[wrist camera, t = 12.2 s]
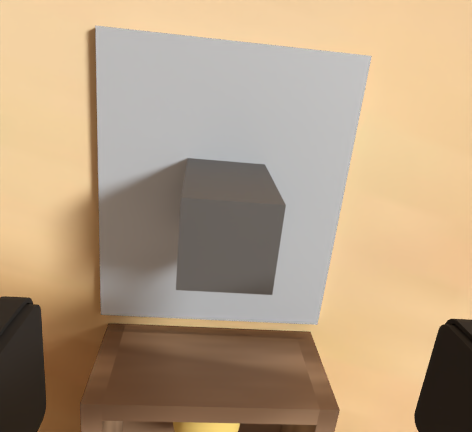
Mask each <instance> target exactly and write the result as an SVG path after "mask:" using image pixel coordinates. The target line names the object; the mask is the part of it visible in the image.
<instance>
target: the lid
mask: <svg viewBox="0 0 472 432" xmlns="http://www.w3.org/2000/svg"><path fill="white" fill-rule="evenodd" d="M95 28H96V82H97V136H98V190H99V244H100V297H101V315H117V316H139V317H161V318H183V319H206V320H228V321H250V322H272V323H294V324H316V325H317V324H318V319H319V314H320V309H321V304H322V299H323V294H324V289H325V284H326V279H327V274H328V269H329V264H330V259H331V254H332V249H333V245H334V240H335V235H336V230H337V225H338V220H339V215H340V210H341V205H342V200H343V195H344V190H345V185H346V180H347V175H348V170H349V165H350V160H351V155H352V150H353V145H354V140H355V135H356V130H357V125H358V120H359V116H360V111H361V106H362V101H363V96H364V91H365V86H366V81H367V76H368V71H369V66H370V61H371V56H366V55H357V54H348V53H339V52H330V51H321V50H312V49H303V48H294V47H285V46H276V45H267V44H257V43H248V42H239V41H230V40H221V39H212V38H203V37H194V36H185V35H176V34H167V33H158V32H149V31H139V30H130V29H121V28H112V27H103V26H95Z"/></svg>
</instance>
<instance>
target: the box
mask: <svg viewBox="0 0 472 432" xmlns="http://www.w3.org/2000/svg"><path fill="white" fill-rule="evenodd" d="M339 411H340V410H339V407H338V405H337V402H336V399H335V397H334V394H333V391H332V389H331V386H330V383H329V381H328V378H327V375H326V373H325V370H324V367H323V365H322V362H321V359H320V356H319V354H318V351H317V348H316V346H315V343H314V340H313V338H312V335H311V332H297V331H273V330H250V329H226V328H202V327H179V326H155V325H131V324H108V327H107V330H106V333H105V335H104V338H103V341H102V344H101V347H100V349H99V352H98V355H97V358H96V361H95V363H94V366H93V369H92V372H91V374H90V377H89V380H88V383H87V386H86V388H85V391H84V394H83V397H82V400H81V402H80V418H81V432H175V431H174V427H173V422H193V423H240V426H239V430H238V432H334V431H335V427H336V423H337V419H338V415H339Z"/></svg>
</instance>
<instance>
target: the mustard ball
mask: <svg viewBox="0 0 472 432" xmlns="http://www.w3.org/2000/svg"><path fill="white" fill-rule="evenodd" d="M239 426H240V423H193V422H173V427H174V431H175V432H238V430H239Z"/></svg>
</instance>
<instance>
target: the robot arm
mask: <svg viewBox="0 0 472 432" xmlns="http://www.w3.org/2000/svg"><path fill="white" fill-rule="evenodd" d="M45 409H46V391H45V374H44V356H43V339H42V321H41V308H40V306H39V305H33V302H32V300H31V299H30V298H24V297H1V298H0V432H37V431H38V429H39V427H40V425H41V422H42V420H43V417H44V414H45ZM415 424H416V427H417V429H418V431H419V432H472V320H465V319H450V320H448V321H447V322H446V323H445V325H442V326H441V327H440V328H439V330H438V334H437V337H436V341H435V344H434V348H433V351H432V355H431V358H430V362H429V365H428V369H427V372H426V375H425V379H424V382H423V386H422V389H421V393H420V396H419V400H418V403H417V407H416V410H415Z"/></svg>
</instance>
